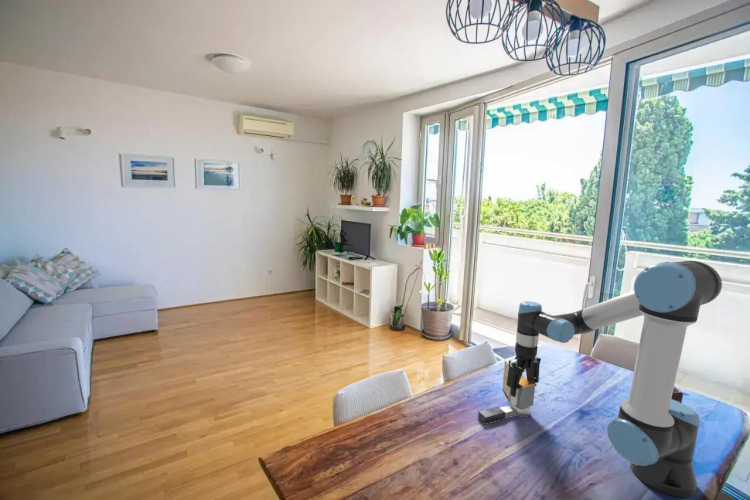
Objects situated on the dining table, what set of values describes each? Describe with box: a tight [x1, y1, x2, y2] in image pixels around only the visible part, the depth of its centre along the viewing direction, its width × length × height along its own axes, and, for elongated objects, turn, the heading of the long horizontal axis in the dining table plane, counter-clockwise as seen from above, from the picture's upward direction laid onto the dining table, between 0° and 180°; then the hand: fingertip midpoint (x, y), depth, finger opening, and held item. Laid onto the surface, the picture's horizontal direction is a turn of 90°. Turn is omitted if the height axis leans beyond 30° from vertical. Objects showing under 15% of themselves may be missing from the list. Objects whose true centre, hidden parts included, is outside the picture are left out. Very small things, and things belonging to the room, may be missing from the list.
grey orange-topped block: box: [508, 375, 536, 409], centre depth 136 cm, size 6×6×9 cm
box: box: [671, 386, 684, 404], centre depth 144 cm, size 6×6×7 cm
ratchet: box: [477, 402, 532, 425], centre depth 133 cm, size 22×7×8 cm, turn 113°
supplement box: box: [502, 359, 520, 399], centre depth 148 cm, size 8×5×13 cm, turn 179°
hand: (520, 402), depth 136 cm, fingers closed on grey orange-topped block, 6 cm apart
